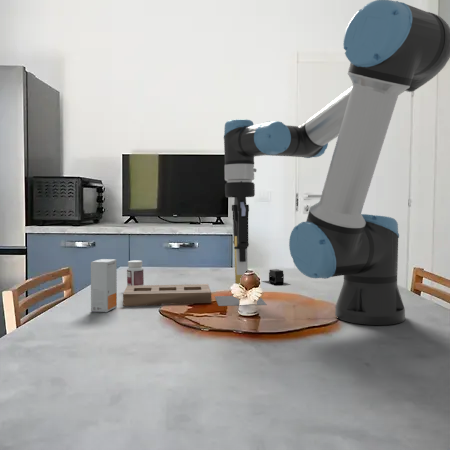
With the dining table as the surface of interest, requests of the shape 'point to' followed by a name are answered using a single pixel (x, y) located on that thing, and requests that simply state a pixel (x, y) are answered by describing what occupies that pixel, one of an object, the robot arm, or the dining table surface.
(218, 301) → the mat
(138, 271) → the pill bottle
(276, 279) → the black box
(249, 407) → the dining table surface
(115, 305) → the skincare box
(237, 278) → the peg
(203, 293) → the block
